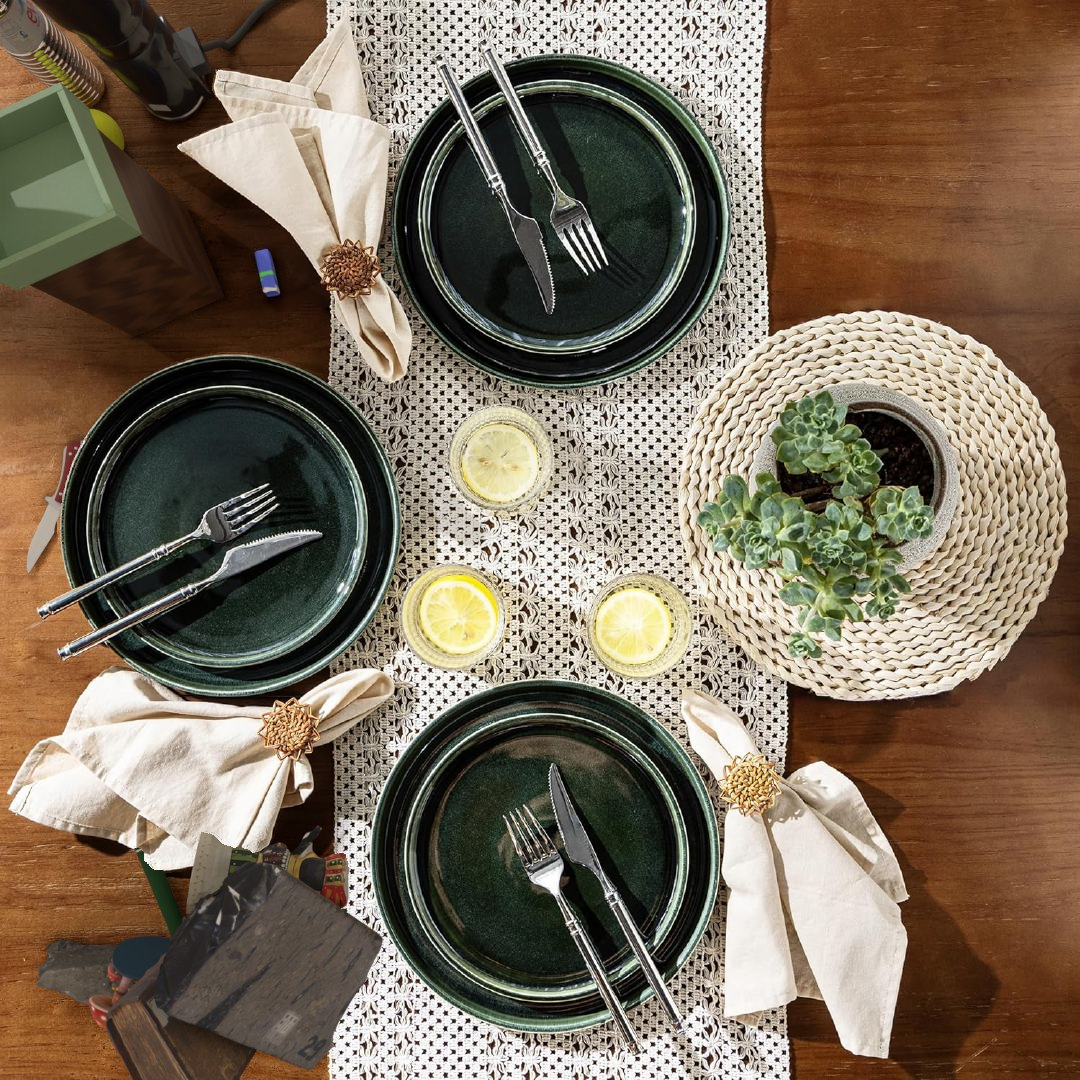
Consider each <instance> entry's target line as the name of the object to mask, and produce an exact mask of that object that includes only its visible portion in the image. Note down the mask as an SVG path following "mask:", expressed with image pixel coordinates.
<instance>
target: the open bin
mask: <svg viewBox="0 0 1080 1080" xmlns="http://www.w3.org/2000/svg"><path fill="white" fill-rule="evenodd" d="M89 109H90V108H88V107H87V106H86V105H85V104H84V103H83V102H82V101H81V100H80V99H78V98H77V97H76V96H75V95H74V94H73V93H72V92H71V91H70V90H69V89H67V88H66V87H65V86H64V85H63V84H62V83H61V82H60V83H57V84H55V85H53V86H51V87H49V88H47V87H46V88H44V89H42V90H40V91H38V92H35V93H34V94H31V95H29V96H27V97H25V98H23V99H22V98H21V99H20V100H18V101H16V102H13V103H11V104H10V105H7V106H4V107H3V108H1V109H0V284H2V285H3V286H7V287H9V288H11V289H13V290H15V291H19V290H22V289H23V288H26V287H28V286H30V285H31V284H33V283H35V282H37V281H39V280H42V279H44V278H46V277H48V276H51V275H53V274H55V273H57V272H60V271H62V270H64V269H66V268H68V267H71V266H73V265H75V264H77V263H80V262H82V261H84V260H86V259H88V258H91V257H93V256H95V255H97V254H100V253H102V252H104V251H106V250H108V249H111V248H113V247H115V246H117V245H120V244H122V243H124V242H126V241H128V240H131V239H133V238H135V237H137V236H140V235H142V233H141V231H140V228H139V226H138V224H137V221H136V219H135V216H134V214H133V212H132V209H131V207H130V205H129V202H128V200H127V197H126V195H125V193H124V190H123V188H122V186H121V183H120V181H119V178H118V176H117V174H116V171H115V169H114V167H113V164H112V162H111V159H110V157H109V155H108V152H107V150H106V148H105V145H104V143H103V140H102V138H101V136H100V133H99V131H98V129H97V126H96V124H95V121H94V119H93V117H92V114H91V112H90V110H89Z"/></svg>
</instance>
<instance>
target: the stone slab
mask: <svg viewBox="0 0 1080 1080" xmlns="http://www.w3.org/2000/svg"><path fill="white" fill-rule="evenodd" d="M185 918H186V919H185V920H184V921H183V922H182V924H181V925H180V926H179V927H178V929H177V930H176V931H175V933H174V935H173V937H172V936H171V938H170V939H171V941H170V942H169V944H168V947H167V951H166V955H165V957H164V960H163V962H162V964H161V966H160V972H159V974H158V977H157V979H156V981H155V985H154V1000H155V1003H156V1006H157V1008H159V1009H162V1010H163V1011H164V1013H165V1014H167V1015H168V1016H172V1017H175V1018H177V1019H179V1020H181V1021H185V1022H187V1023H190V1024H193V1025H197V1026H199V1027H200V1028H206V1029H208V1030H209V1031H213V1032H215V1033H216V1034H218V1035H221V1036H223V1037H225V1038H227V1039H230V1040H232V1041H235V1042H238V1043H240V1044H242V1045H245V1046H248V1047H251V1048H254V1049H255V1050H257V1051H258V1052H262V1053H263V1054H266V1055H270V1056H271V1057H274V1058H276V1059H279V1060H281V1061H284V1062H286V1063H288V1064H290V1065H292V1066H295V1067H298V1068H301V1069H305V1070H306V1072H309V1071H312V1070H313V1069H315V1068H316V1066H317V1064H318V1063H320V1061H322V1060H323V1059H324V1058H325V1056H326V1055H327V1054H328V1053H329V1052H330V1051H331V1050H332V1049H333V1047H334V1034H335V1031H336V1029H337V1028H338V1025H339V1023H340V1021H341V1020H342V1018H343V1016H344V1015H345V1013H346V1011H347V1010H348V1008H349V1006H350V1004H351V1003H352V1002H353V999H354V998H355V997H356V996H357V994H358V992H359V990H360V989H361V988H362V987H363V986H364V985H365V983H366V981H367V978H368V975H369V972H370V971H371V968H372V966H373V965H374V963H375V960H376V958H377V957H378V955H379V953H380V951H381V948H382V946H383V941H384V938H383V936H382V935H381V934H380V933H378V932H377V931H376V930H375V929H373V928H371V927H370V926H369V925H367V924H365V923H364V922H362V921H361V920H359V919H358V918H357V917H355V916H353V915H352V914H350V913H349V912H347V911H346V910H345V909H344V908H340V907H338V906H337V905H336V904H334V903H333V902H332V901H330V900H329V899H327V898H325V897H324V896H323V895H321V894H320V893H318V892H317V891H315V890H314V889H312V888H311V887H309V886H308V885H306V884H305V883H303V882H302V881H300V880H299V879H298V878H296V877H294V876H293V875H292V874H290V873H289V872H287V871H286V870H284V869H283V868H281V867H279V866H276V865H274V864H269V863H263V862H247V863H245V864H244V865H242V866H241V867H239V868H238V869H237V870H235V871H234V872H233V873H231V875H230V876H228V877H226V878H225V879H224V881H223V882H222V886H220V888H219V889H218V890H217V891H215V892H214V893H212V894H208V895H206V896H205V897H203V898H200V900H199V901H198V902H197V903H195V909H194V910H193V911H192V913H191V914H187V917H185Z"/></svg>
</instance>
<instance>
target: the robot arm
mask: <svg viewBox="0 0 1080 1080" xmlns="http://www.w3.org/2000/svg"><path fill="white" fill-rule="evenodd" d="M30 1H31V2H32V3H33V4H34V5H35V6H36V7H37V8H39V9H40V10H41V11H42V12H43V13H44V14H45V15H46V16H47V17H48V18H49V19H50V20H51V21H52V22H53V23H54V24H57V25H58V26H59V27H61V28H63V30H66V31H67V32H70V33H72V34H75V35H76V36H77V37H78V38H79V39H80V40H81V41H82V42H83V43H84V44H85V45H86V47H88V48H89V49H90V50H91V52H93V53H94V54H95V56H97V58H99V60H101V61H102V63H103V64H104V65H105V66H106V67H107V68H108V69H109V70H110V71H111V72H112V73H113V75H115V76H116V77H117V78H118V79H119V81H120V82H122V84H124V86H125V87H127V89H128V90H129V91H130V92H131V93H132V94H133V95H134V96H135V98H137V99H138V100H139V101H140V102H141V103H142V104H143V105H144V107H145V108H146V109H147V110H148V111H149V112H150V113H151V114H152V115H153V116H154V117H155V118H157V119H159V120H161V121H163V122H167V123H181V122H185V121H187V120H189V119H191V118H193V117H195V115H196V114H198V113H199V112H200V110H201V109H202V107H203V106H204V103H206V102H205V101H206V100H207V99H209V98H212V95H213V94H212V92H211V89H210V87H209V85H208V82H207V78H206V76H207V75H208V74H210V73H212V72H213V69H212V67H211V65H210V62H209V60H208V57H207V54H206V53H208V52H210V51H213V50H216V49H219V48H221V49H222V50H226V51H227V50H229V49H231V48H233V47H234V46H236V45H237V44H238V43H239V41H240V40H241V39H242V38H243V37H244V36H245V35H246V34H247V32H249V31H250V29H252V27H253V26H254V24H255V23H256V22H257V21H258V20H259V19H260V17H261V16H262V15H263V14H264V13H265V12H267V11H268V10H269V9H270V8H271V7H273V6H274V5H276V4H277V3H278V2H281V0H264V1H262V2H261V3H260V4H259V5H258V6H257V7H256V8H255V9H254V10H253V11H252V13H250V14H249V16H247V18H246V20H245V21H244V22H243V23H242V25H241V26H240V27H239V29H238V30H237V31H236V32H235V33H234V34H233V35H232V36H231V37H229V38H228V39H226V40H224V39H221V38H217V39H213V40H210V41H206V42H204V43H201V40H200V39H199V36H198V34H197V33H196V32H195V30H194V29H193V28H192V27H191V25H189V26H187V27H185V28H182V29H180V30H178V31H176V29H175V28H174V27H173V25H172V24H171V23H170V22H169V21H168V19H167V18H166V16H165V15H163V14H160V15H159V14H157V12H156V11H155V10H154V8H153V7H152V5H150V3H149V2H148V1H147V0H30Z"/></svg>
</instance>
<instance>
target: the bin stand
mask: <svg viewBox="0 0 1080 1080" xmlns="http://www.w3.org/2000/svg"><path fill="white" fill-rule="evenodd" d="M97 129H98V128H97ZM98 131H99V133H100V136H101V138H102V140H103V143H104V145H105V148H106V150H107V152H108V155H109V157H110V159H111V162H112V164H113V167H114V169H115V171H116V174H117V176H118V178H119V181H120V183H121V186H122V188H123V190H124V193H125V195H126V197H127V200H128V202H129V205H130V207H131V209H132V212H133V214H134V216H135V219H136V221H137V224H138V226H139V228H140V231H141V233H142V235H140V236H137V237H135V238H133V239H131V240H128V241H126V242H124V243H122V244H120V245H117V246H115V247H113V248H111V249H108V250H106V251H104V252H102V253H100V254H97V255H95V256H93V257H91V258H88V259H86V260H84V261H82V262H80V263H77V264H75V265H73V266H71V267H68V268H66V269H64V270H62V271H60V272H57V273H55V274H53V275H51V276H48V277H46V278H44V279H42V280H39V281H37V282H35V283H33V284H31V285H29V286H30V287H32V288H34V289H36V290H38V291H40V292H42V293H44V294H46V295H49V296H51V297H53V298H55V299H56V300H59V301H60V302H63V303H65V304H67V305H70V306H72V307H74V308H75V309H78V310H80V311H82V312H84V313H86V314H88V315H90V316H92V317H94V318H97V319H98V320H101V321H103V322H104V323H107V324H109V325H111V326H113V327H115V328H117V329H119V330H122V331H124V332H125V333H127V334H129V335H131V336H134V337H138V336H140V335H143V334H144V333H147V332H149V331H152V330H153V329H156V328H158V327H161V326H162V325H165V324H167V323H169V322H171V321H174V320H176V319H178V318H180V317H181V318H182V316H185V315H187V314H190V313H192V312H193V311H196V310H199V309H201V308H203V307H205V306H207V305H209V304H212V303H214V302H217V301H219V300H221V299H223V298H225V294H224V292H223V289H222V287H221V284H220V282H219V280H218V277H217V275H216V273H215V270H214V268H213V265H212V263H211V261H210V259H209V256H208V254H207V252H206V249H205V246H204V244H203V242H202V240H201V237H200V235H199V233H198V230H197V228H196V225H195V222H194V221H193V219H192V216H191V214H190V211H189V208H188V207H187V206H186V205H185V203H183V202H181V200H179V199H178V198H177V197H176V196H175V195H174V194H173V193H171V192H170V191H169V190H168V189H167V188H166V187H165V186H164V185H162V184H161V183H160V182H159V181H158V180H157V179H156V178H155V177H153V175H151V174H150V173H149V172H148V171H146V170H145V169H144V168H143V166H141V165H140V164H139V163H138V162H137V161H135V160H134V159H133V158H131V157H130V156H129V155H128V154H127V153H126V151H124V150H121V149H120V148H119V147H118V146H117V145H116V144H115V143H113V142H112V141H111V140H110V139H109V138H108V137H107V136H106V135H104V134H103V133H102V132H101V131H100V130H99V129H98Z"/></svg>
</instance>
